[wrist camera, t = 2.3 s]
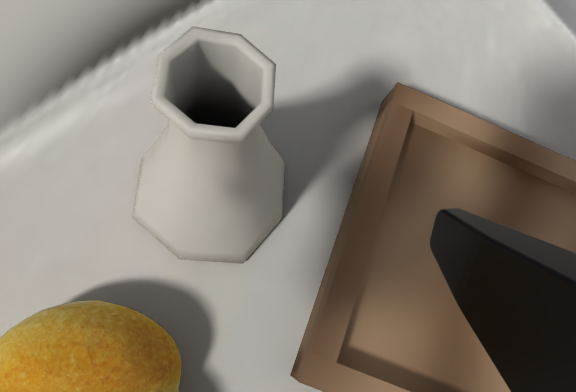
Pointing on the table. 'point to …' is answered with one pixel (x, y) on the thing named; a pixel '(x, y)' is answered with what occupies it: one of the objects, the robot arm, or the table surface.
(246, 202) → the flask
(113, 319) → the bread roll
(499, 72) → the table surface
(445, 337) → the walnut tray
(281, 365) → the table surface
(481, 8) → the table surface
